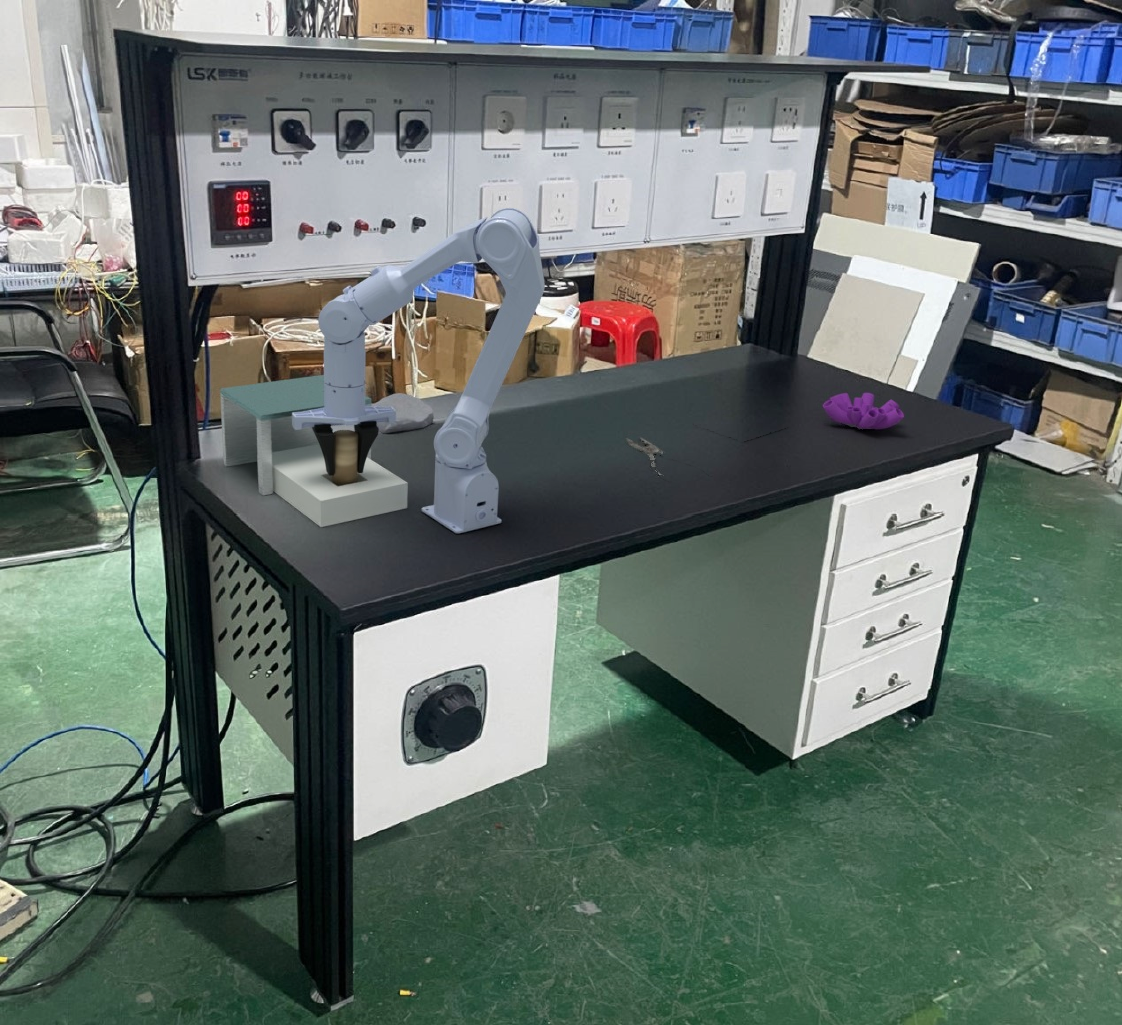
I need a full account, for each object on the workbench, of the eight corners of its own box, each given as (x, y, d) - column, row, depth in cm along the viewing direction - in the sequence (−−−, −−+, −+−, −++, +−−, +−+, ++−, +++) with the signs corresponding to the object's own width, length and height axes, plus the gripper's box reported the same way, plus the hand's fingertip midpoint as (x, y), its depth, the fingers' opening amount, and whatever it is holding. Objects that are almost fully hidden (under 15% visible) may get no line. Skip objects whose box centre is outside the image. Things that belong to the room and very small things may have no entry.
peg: (359, 489, 161) (360, 438, 157) (335, 491, 159) (335, 439, 156) (354, 479, 163) (354, 429, 160) (329, 481, 162) (330, 430, 159)
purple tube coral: (829, 432, 222) (849, 390, 223) (898, 453, 213) (919, 410, 214) (812, 408, 213) (834, 365, 214) (883, 429, 204) (905, 384, 205)
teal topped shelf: (370, 474, 173) (371, 398, 169) (263, 495, 163) (260, 415, 158) (327, 446, 183) (327, 374, 178) (223, 464, 172) (220, 388, 167)
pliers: (676, 482, 179) (597, 443, 193) (675, 487, 180) (597, 448, 194) (718, 473, 185) (638, 435, 199) (717, 477, 185) (638, 440, 199)
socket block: (407, 508, 163) (407, 482, 161) (320, 527, 154) (320, 500, 153) (340, 464, 176) (340, 440, 175) (258, 479, 168) (257, 454, 166)
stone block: (437, 433, 199) (399, 408, 204) (442, 409, 197) (403, 385, 201) (389, 450, 191) (351, 424, 195) (393, 425, 188) (354, 400, 193)
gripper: (298, 393, 149) (300, 486, 154) (402, 387, 155) (400, 477, 160) (288, 377, 155) (289, 468, 160) (388, 373, 161) (387, 460, 166)
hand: (344, 471), depth 161 cm, fingers closed on peg, 4 cm apart
